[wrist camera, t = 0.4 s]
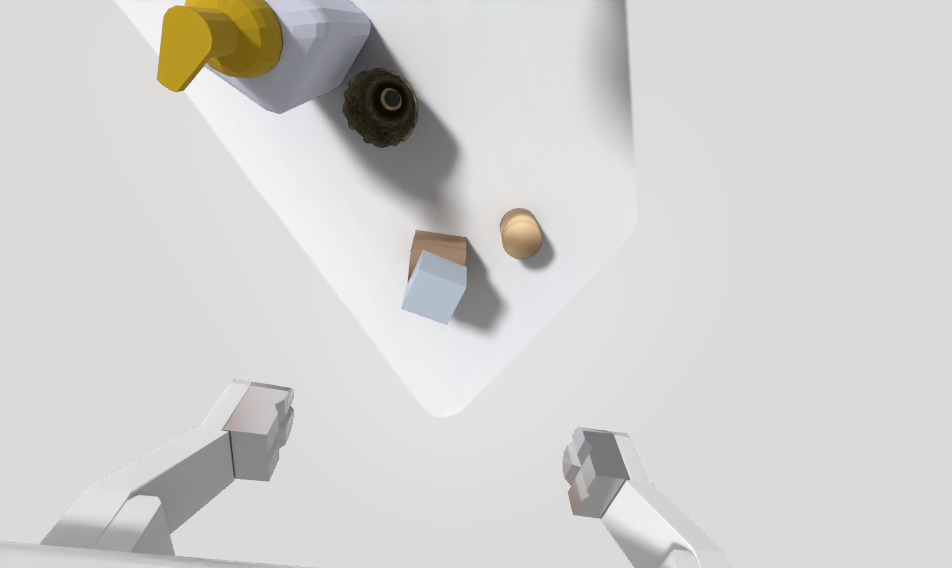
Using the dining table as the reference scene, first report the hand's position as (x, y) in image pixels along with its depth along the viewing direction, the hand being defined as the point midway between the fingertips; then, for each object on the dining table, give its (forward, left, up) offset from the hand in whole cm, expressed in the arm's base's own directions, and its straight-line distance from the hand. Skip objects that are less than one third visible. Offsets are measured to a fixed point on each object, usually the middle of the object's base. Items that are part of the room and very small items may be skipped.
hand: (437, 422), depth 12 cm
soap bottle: (-4, -17, -45) cm, 48 cm away
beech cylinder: (+10, +12, -45) cm, 48 cm away
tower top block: (+18, +3, -39) cm, 43 cm away
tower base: (+18, +3, -45) cm, 49 cm away
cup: (0, -8, -45) cm, 46 cm away
